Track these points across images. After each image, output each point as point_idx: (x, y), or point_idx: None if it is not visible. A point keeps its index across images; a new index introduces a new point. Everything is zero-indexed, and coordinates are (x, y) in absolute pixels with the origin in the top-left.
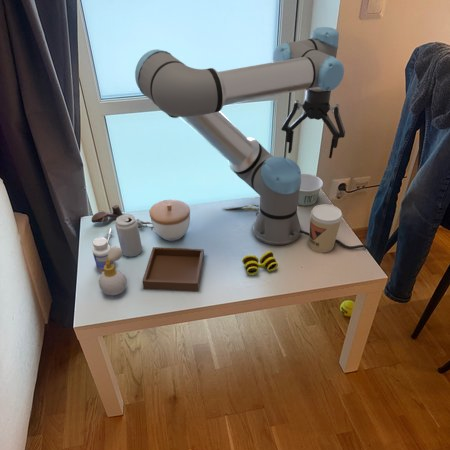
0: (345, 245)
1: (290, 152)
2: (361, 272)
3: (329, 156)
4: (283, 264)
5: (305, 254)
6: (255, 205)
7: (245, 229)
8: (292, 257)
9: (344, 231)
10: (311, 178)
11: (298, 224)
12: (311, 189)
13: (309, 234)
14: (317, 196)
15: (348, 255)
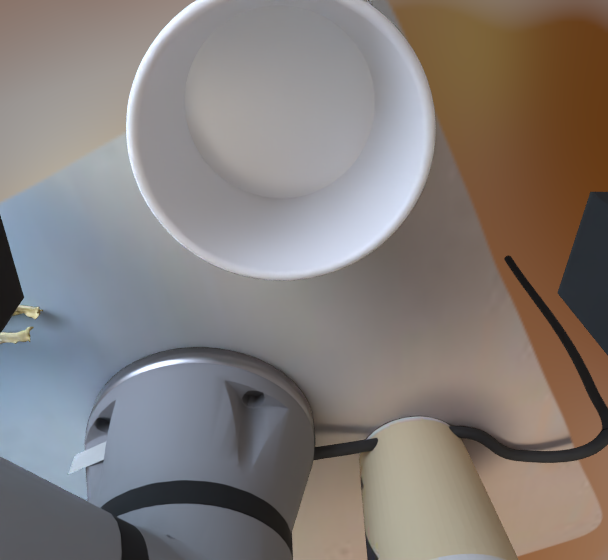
0: (511, 458)
1: (19, 296)
2: (545, 528)
3: (572, 305)
4: None
5: (351, 505)
6: (15, 340)
7: (60, 445)
8: (305, 526)
9: (520, 356)
10: (321, 1)
11: (305, 483)
12: (327, 16)
13: (362, 501)
14: (383, 149)
15: (514, 476)
